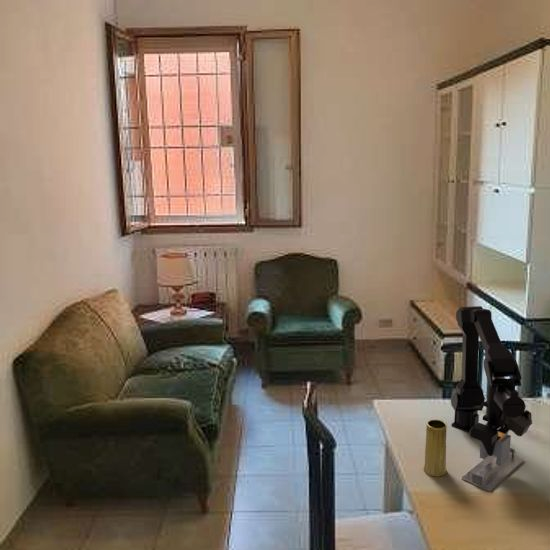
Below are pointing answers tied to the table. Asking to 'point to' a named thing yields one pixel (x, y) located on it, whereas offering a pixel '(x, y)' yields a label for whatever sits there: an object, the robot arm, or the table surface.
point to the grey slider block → (499, 449)
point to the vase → (435, 448)
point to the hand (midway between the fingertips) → (494, 451)
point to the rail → (495, 475)
